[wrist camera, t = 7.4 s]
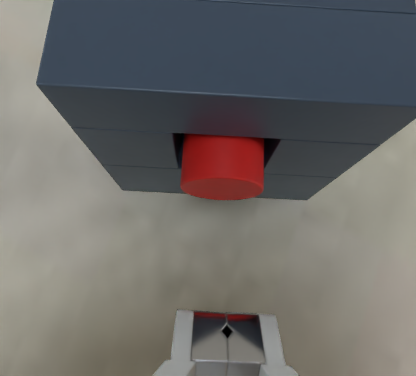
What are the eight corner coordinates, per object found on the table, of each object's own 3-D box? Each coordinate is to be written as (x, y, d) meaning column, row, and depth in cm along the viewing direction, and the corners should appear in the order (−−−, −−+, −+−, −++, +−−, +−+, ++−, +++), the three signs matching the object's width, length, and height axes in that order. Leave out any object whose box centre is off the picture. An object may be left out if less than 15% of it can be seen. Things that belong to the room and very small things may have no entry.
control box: (306, 200, 22) (432, 107, 10) (122, 190, 21) (34, 84, 10) (303, 104, 24) (405, -66, 12) (134, 94, 23) (71, -89, 12)
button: (255, 202, 16) (271, 180, 13) (181, 198, 16) (177, 175, 13) (256, 139, 17) (271, 103, 14) (186, 135, 17) (183, 98, 14)
